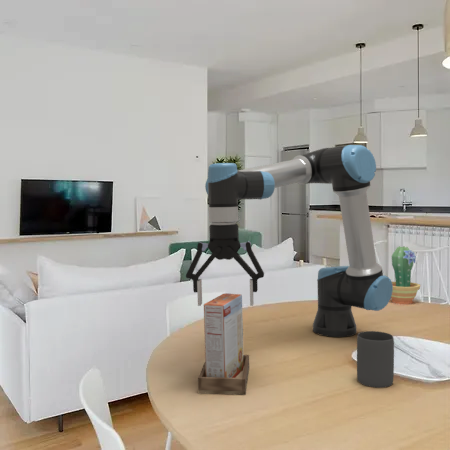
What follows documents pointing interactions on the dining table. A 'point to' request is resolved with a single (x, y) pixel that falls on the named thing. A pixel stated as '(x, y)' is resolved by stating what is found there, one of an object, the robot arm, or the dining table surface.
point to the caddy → (224, 382)
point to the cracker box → (223, 336)
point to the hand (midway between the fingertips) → (225, 304)
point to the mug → (375, 359)
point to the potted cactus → (403, 276)
